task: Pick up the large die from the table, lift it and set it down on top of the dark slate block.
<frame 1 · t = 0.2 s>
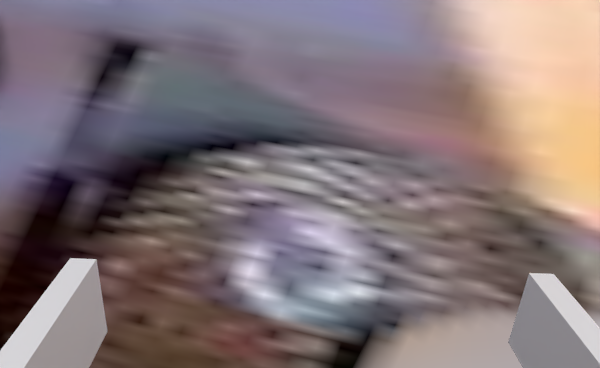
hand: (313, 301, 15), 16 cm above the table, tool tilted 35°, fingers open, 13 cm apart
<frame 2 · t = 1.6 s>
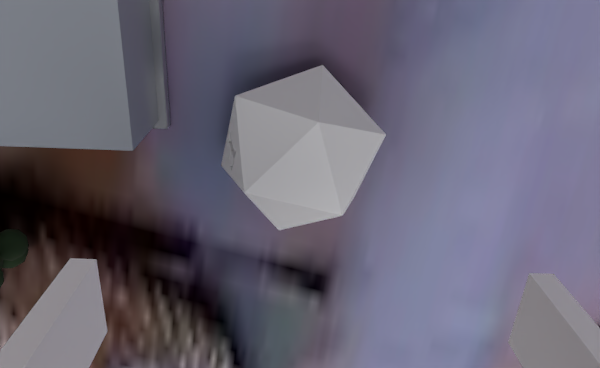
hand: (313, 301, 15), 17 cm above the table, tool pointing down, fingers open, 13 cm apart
die: (298, 128, 30), on the table
slate block: (56, 19, 27), on the table
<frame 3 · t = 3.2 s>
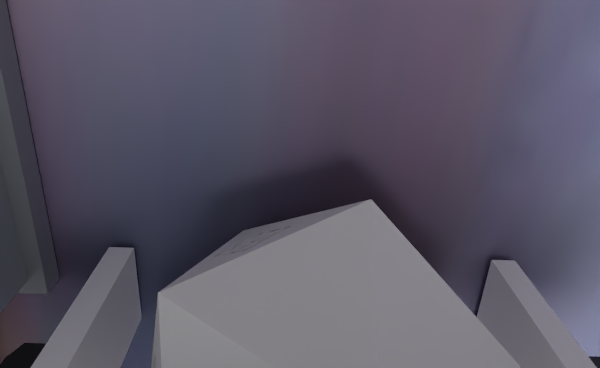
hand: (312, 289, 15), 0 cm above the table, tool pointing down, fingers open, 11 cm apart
die: (309, 281, 16), on the table
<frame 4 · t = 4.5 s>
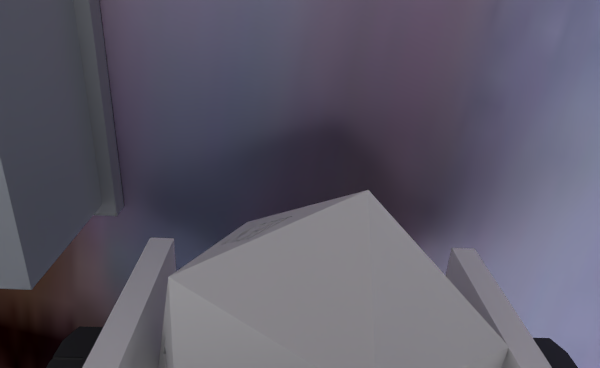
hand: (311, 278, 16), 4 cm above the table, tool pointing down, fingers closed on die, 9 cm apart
die: (310, 271, 16), point 3 cm above the table, touching gripper
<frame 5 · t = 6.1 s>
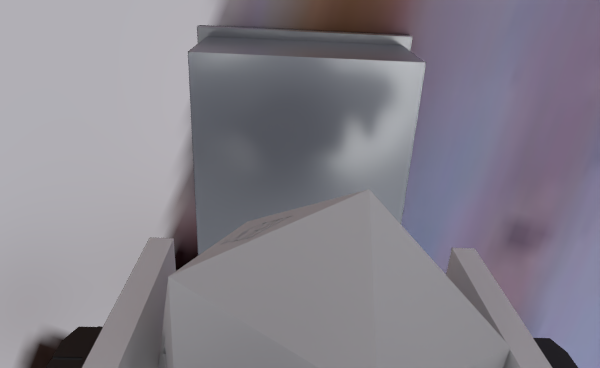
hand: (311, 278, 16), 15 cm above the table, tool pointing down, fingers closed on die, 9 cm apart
die: (310, 271, 16), point 15 cm above the table, touching gripper
slate block: (300, 130, 30), on the table
when the fingers open (7 cm above the table, at t = 8.1 s): die stays where it is, resting on slate block.
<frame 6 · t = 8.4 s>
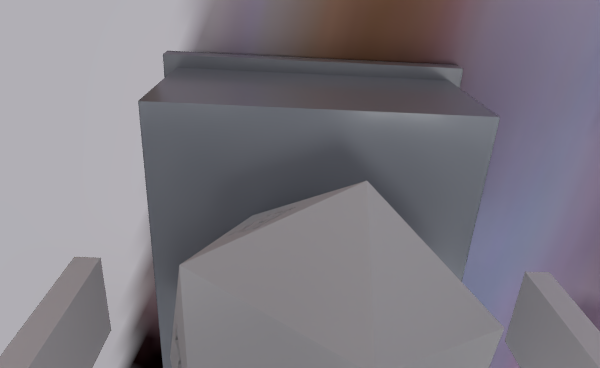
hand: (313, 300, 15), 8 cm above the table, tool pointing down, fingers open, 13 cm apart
die: (314, 262, 17), point 6 cm above the table, touching slate block
slate block: (305, 189, 22), on the table
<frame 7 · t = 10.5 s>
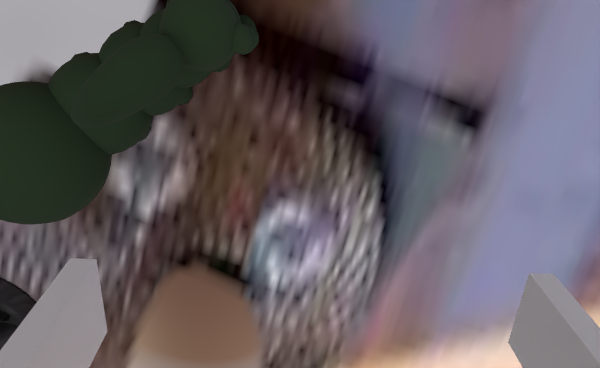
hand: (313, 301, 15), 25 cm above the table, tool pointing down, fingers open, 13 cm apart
toy figurine: (124, 88, 37), on the table
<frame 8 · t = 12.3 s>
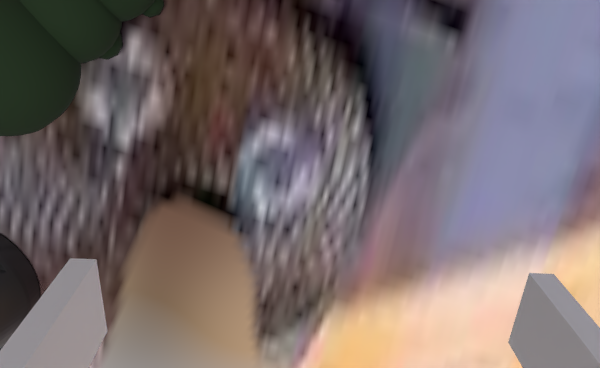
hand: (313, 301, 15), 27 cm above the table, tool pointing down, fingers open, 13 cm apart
toy figurine: (93, 5, 36), on the table
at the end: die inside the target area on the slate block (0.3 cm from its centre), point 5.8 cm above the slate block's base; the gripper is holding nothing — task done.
